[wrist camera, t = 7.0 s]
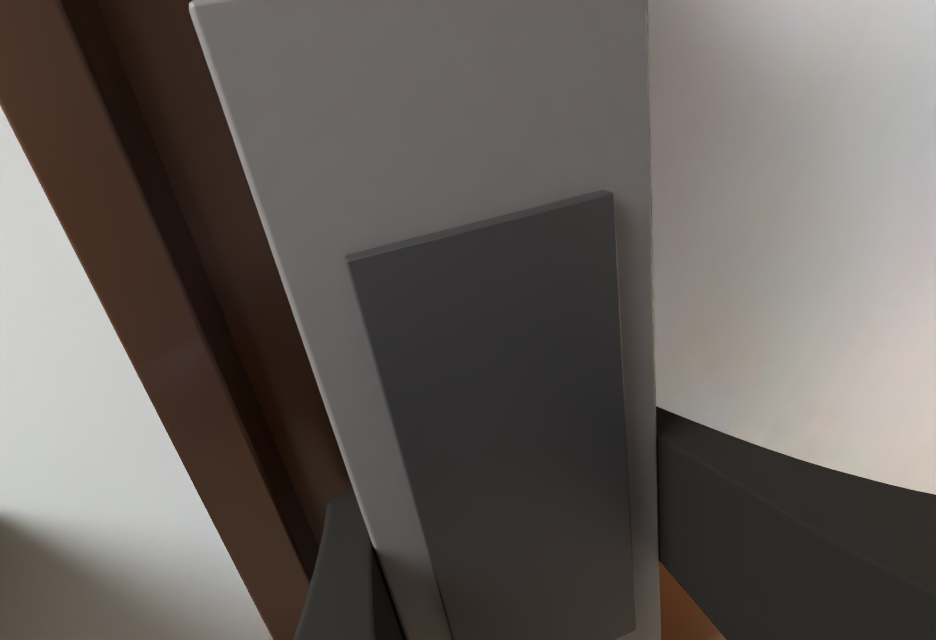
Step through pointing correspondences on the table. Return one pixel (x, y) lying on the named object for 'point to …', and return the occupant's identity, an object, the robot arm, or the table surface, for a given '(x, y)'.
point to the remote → (469, 289)
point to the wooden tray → (180, 269)
